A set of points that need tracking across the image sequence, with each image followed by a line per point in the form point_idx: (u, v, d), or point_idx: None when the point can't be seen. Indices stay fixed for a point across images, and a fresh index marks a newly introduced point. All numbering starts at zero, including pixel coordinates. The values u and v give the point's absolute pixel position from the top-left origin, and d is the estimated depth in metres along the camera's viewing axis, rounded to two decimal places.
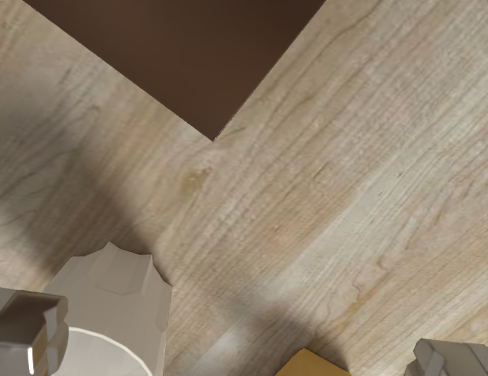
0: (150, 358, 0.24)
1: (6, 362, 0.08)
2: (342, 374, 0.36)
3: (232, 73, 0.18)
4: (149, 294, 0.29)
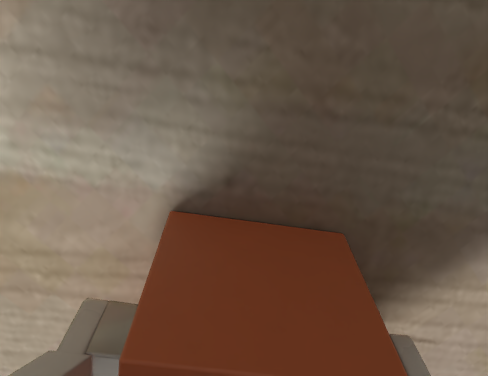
0: None
1: (111, 373, 0.08)
2: None
3: None
4: None
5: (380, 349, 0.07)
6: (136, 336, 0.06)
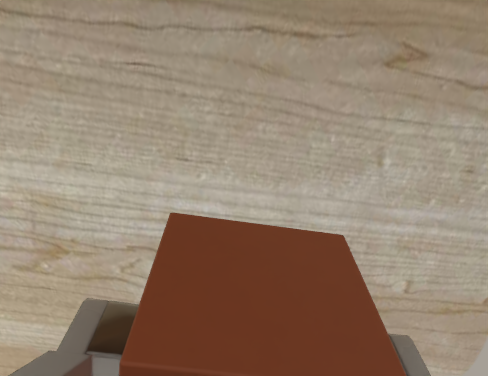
0: None
1: (111, 373, 0.08)
2: None
3: None
4: None
5: (380, 351, 0.07)
6: (136, 338, 0.06)
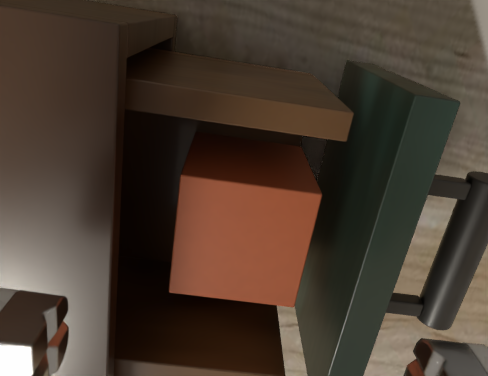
0: None
1: (6, 362, 0.08)
2: None
3: None
4: None
5: (309, 182, 0.14)
6: (186, 169, 0.13)
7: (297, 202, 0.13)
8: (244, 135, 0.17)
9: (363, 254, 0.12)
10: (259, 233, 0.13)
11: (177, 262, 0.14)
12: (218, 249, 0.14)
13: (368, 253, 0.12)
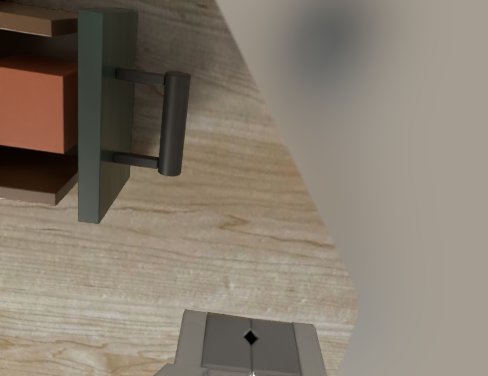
0: None
1: None
2: None
3: None
4: None
5: (63, 73, 0.23)
6: None
7: (49, 81, 0.22)
8: (53, 56, 0.27)
9: (78, 107, 0.22)
10: (31, 102, 0.23)
11: None
12: (9, 112, 0.23)
13: (79, 105, 0.22)
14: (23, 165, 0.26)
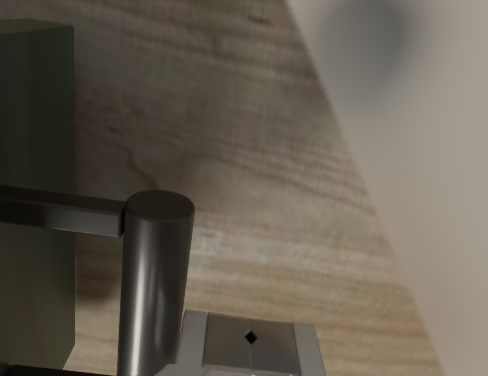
0: None
1: None
2: None
3: None
4: None
5: None
6: None
7: None
8: None
9: None
10: None
11: None
12: None
13: None
14: None
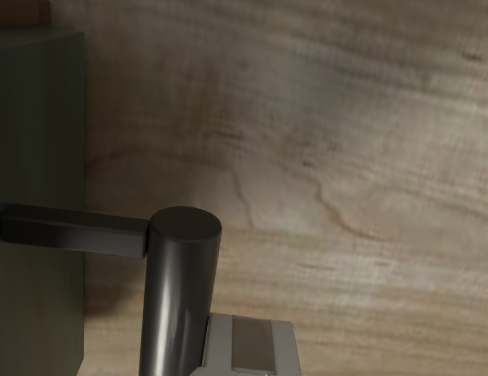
0: None
1: None
2: None
3: None
4: None
5: None
6: None
7: None
8: None
9: None
10: None
11: None
12: None
13: None
14: None
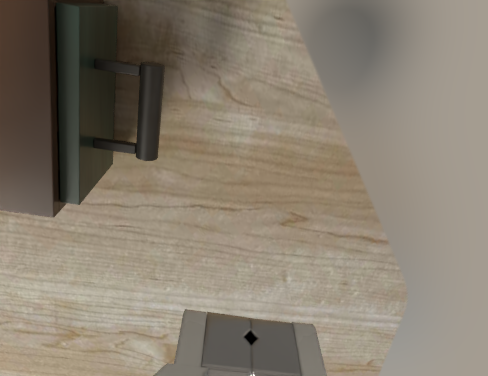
0: None
1: None
2: None
3: None
4: None
5: None
6: None
7: None
8: None
9: (58, 94, 0.23)
10: None
11: None
12: None
13: (58, 92, 0.23)
14: None
